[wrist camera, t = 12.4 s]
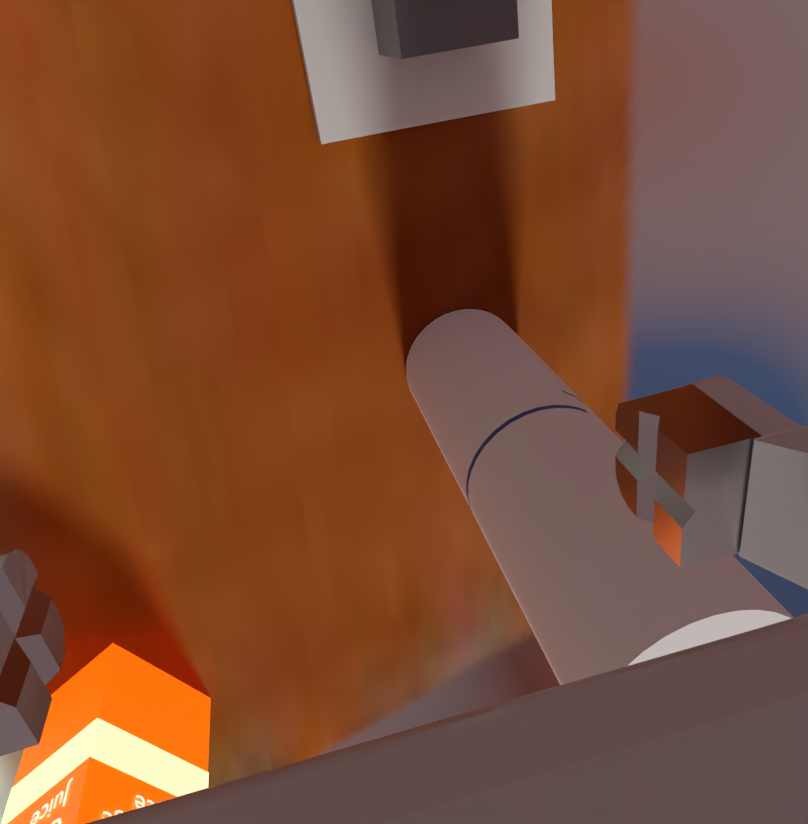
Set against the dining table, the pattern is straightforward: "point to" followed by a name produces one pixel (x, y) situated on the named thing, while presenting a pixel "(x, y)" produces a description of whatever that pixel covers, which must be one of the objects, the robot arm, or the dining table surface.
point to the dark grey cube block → (441, 25)
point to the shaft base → (415, 72)
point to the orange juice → (113, 744)
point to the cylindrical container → (565, 508)
